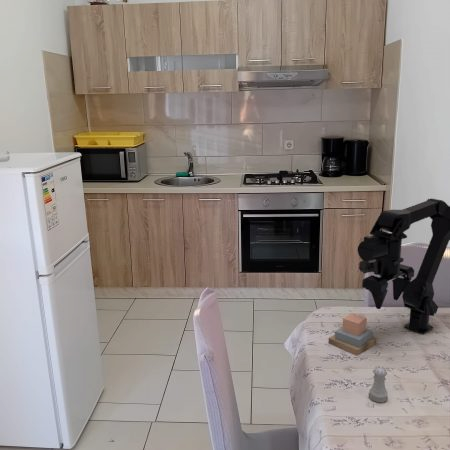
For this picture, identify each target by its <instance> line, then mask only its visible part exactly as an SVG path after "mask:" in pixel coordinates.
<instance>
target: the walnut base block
mask: <svg viewBox="0 0 450 450" xmlns="http://www.w3.org/2000/svg"><path fill="white" fill-rule="evenodd" d="M377 339H378V338H376V337H372V339H371V340H369V341H368V342H366V343H365V344H364V345H362V346H361V347H360V348H358V347H355V346H352V345H350V344H347V343H344V342H342V341H339V340H336V339H335V334H333V335H332V336H329V337H328V344H330V345H332V346H334V347H336V348H337V349H340V350H342V351H345V352H347V353H350V354H351V355H354V356H356V357H357V356H359V355H361V354H363V353H364V352H366V351H368V350H369V349H371V348H373V347H374V346H376V345H377V342H378V341H377Z"/></svg>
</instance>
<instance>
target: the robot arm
mask: <svg viewBox="0 0 450 450" xmlns="http://www.w3.org/2000/svg"><path fill="white" fill-rule="evenodd" d="M427 218H430V219H431V223H430V229H431V232H432V236H431V239H430V241H429V243H428V246H427V249H426V251H425V253H424V257H423V259H422V262H421V264H420V267H419V269H418V272H417V274H416V277H415V269H414V268H413V267H412V266H409V265H406V264H401V263H403V262H404V257H401V256H402V245H403V244H402V240H404V239H407V238H408V235H406V233H404V232H406V231H408V230H409V229H410V228H411V225H412V224H415V223H417V222H420V221H422V220H425V219H427ZM449 242H450V205H448V204H447V202H445V201H444V200H442V199H437V198H428V199H426V200H425V201H422V202H420V203H417V204H414V205H412V206H409V207H406V208H402V209H386V210H383V211H381V212H380V214H379V216H378V217H377V219H376V221H375V223H374V225H373V226H372V228H371V230H370V232H369V235H366V236H364V237H363V241H361V242H360V243H359V244H358V246H357V254H358V257H360V258H361V261H359V265H358V269H359V271H360V272H362V273H363V274H368V273H373V275H372V274H371V275H369V276H367V277H365V278H363V279H362V280H361V288H364V289H365V290H367V291H369V293H370V294H371V296H372V299H373V302H374V305H375V308H376V309H377V310H381V309H382V306H383V305H384V304H383V303H384V301H385V298H386V296H387V293H388V291H389V290H388V286H389V282H391V281H392V295H393V300H394V301H398V300H399V298H400V297H401V298H402V301H403V302H402V303H403V306H404V308H407V309H409V310H410V312H409V320H408V321H409V322H408V323H406V324H405V325H404V327H403V328H404V329H408V330H410V331H413V332H417V333H418V334H419V333H420V334H422V335H424V334H426V333H428V332H429V331H430V330H432V329H433V328H434V327H433V326H432V325H431V324H429V322H430V317H431V316H432V317H434V316H435V314H437V312H438V310H439V305H437V303H436V302H435V301H434V300H433V299H434V296H435V289H434V284H433V282H434V280H435V278H436V275H437V273H438V270H439V267H440V265H441V262H442V260H443V257H444V255H445V252H446V250H447V247H448V244H449ZM413 277H415V278H413ZM412 278H413V279H412Z"/></svg>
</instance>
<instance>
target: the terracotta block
mask: <svg viewBox="0 0 450 450" xmlns="http://www.w3.org/2000/svg"><path fill="white" fill-rule="evenodd" d="M367 320H368V317H365V316H361V315H358V314H356V313H352V312H351V313H349V314H348V315H346V316H345V317H344V318H342V326H343V331H344V332H347V333H350V334H353V335H356V336H359V335H360V334H362V333H363V332H364V331H366V328H367V323H368V322H367Z"/></svg>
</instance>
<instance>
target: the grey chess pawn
mask: <svg viewBox="0 0 450 450" xmlns="http://www.w3.org/2000/svg"><path fill="white" fill-rule="evenodd" d="M372 372H373V374H374V375H373V379H374V381H373V385H372V386H371V388H369V393H368V396H369V398H370V400H371V401H373V402H375V403H381V404H383V403H385V402H387V400H388V398H389V397H388V396H389V392H388V391H387V389H386V383H385V381H386V379H387V378H386V377H385V376H387V375H388V372H387V369H386V368H385V367H384V366H380V365H377V366H375V367H374V369H373V370H372Z"/></svg>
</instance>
